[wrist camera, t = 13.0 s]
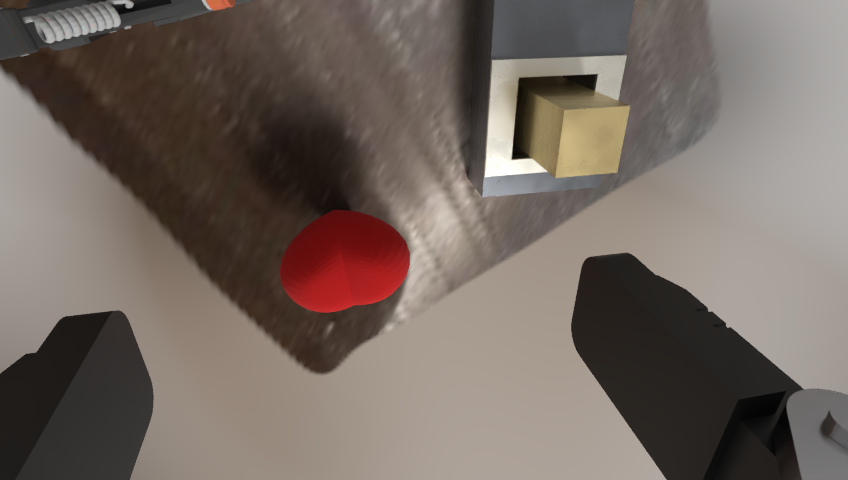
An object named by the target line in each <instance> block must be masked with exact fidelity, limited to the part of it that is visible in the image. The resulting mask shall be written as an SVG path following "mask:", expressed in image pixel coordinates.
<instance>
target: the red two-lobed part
mask: <svg viewBox="0 0 848 480" xmlns="http://www.w3.org/2000/svg"><path fill="white" fill-rule="evenodd" d="M409 265H410V253H409V249H408V247H407V244H406V242H405V240H404V239H403V238H402V236H401V235H400V234H399V232H397V231H396V230H395V229H394V228H393V227H392V226H390V225H389V224H387V223H385V222H384V221H382V220H380V219H378V218H375V217H373V216H370V215H367V214H363V213H360V212H354V211H348V210H333V211H331V212H329V213H327V214H325V215H323V216H321V217H320V218H318V219H316V220H315V221H313V222H312V223H310V224H309V225H308V226H307V227H305V228H304V229H303V230H302V231H301V232H300V233H299V234H298V235H297V236H296V237H295V238H294V239H293V241H292V242H291V244H290V245H289V246H288V248H287V250H286V252H285V254H284V256H283V258H282V262H281V267H280V277H281V283H282V285H283V287H284V289H285V291H286V293H287V294H288V295H289V297H291V298H292V299H293V300H294V301H295V302H296V303H297V304H299V305H301V306H302V307H304V308H306V309H309V310H312V311H316V312H336V311H340V310H344V309H347V308H349V307H351V306H353V305H365V304H371V303H375V302H378V301H380V300H383V299H385V298H386V297H388V296H390V295H391V294H392V293H393V292H394V291H395V290H396V289H397V288H398V287H399V286H400V285H401V283H402V282H403V280H404V279H405V277H406V275H407V272H408V269H409Z"/></svg>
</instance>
